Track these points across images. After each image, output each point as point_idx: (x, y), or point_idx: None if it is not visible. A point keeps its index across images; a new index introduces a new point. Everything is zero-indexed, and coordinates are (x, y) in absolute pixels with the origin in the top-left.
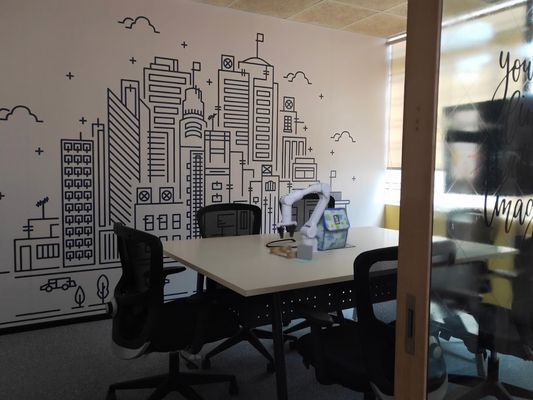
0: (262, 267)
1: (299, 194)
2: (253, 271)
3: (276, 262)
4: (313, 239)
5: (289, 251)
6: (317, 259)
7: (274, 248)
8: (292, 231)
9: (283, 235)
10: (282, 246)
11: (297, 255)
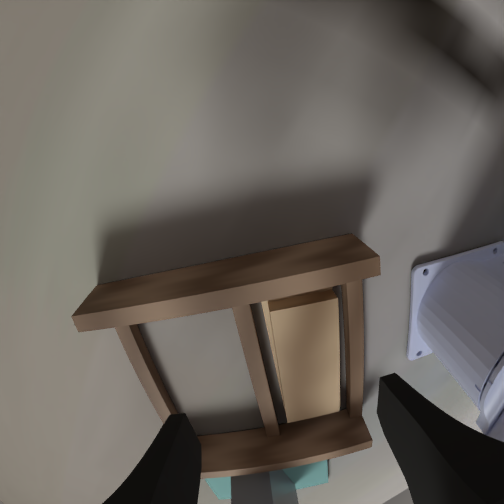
0: (31, 465)
1: None
2: (9, 471)
3: (92, 453)
4: None
5: (281, 342)
6: (322, 483)
7: (119, 322)
8: (411, 484)
9: (195, 491)
10: (243, 294)
11: (232, 477)
